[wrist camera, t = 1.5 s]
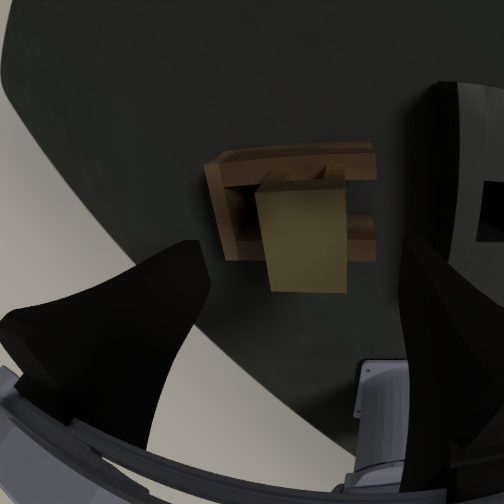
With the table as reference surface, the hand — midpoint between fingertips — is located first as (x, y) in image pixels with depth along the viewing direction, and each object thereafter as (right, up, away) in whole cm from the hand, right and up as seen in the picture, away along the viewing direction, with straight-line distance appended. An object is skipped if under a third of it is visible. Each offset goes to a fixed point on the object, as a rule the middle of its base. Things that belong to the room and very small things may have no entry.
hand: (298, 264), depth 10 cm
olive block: (+2, +4, +6) cm, 7 cm away
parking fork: (+2, +4, +6) cm, 8 cm away
